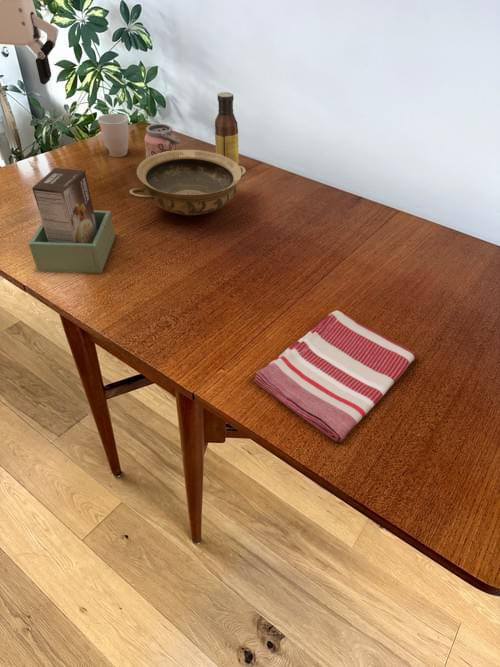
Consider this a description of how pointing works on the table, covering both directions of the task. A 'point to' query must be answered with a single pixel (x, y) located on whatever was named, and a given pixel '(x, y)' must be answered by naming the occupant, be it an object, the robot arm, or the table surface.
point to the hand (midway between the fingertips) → (18, 80)
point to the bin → (74, 249)
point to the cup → (114, 133)
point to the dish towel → (335, 373)
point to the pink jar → (159, 139)
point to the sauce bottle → (226, 128)
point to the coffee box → (66, 206)
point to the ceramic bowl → (188, 181)
